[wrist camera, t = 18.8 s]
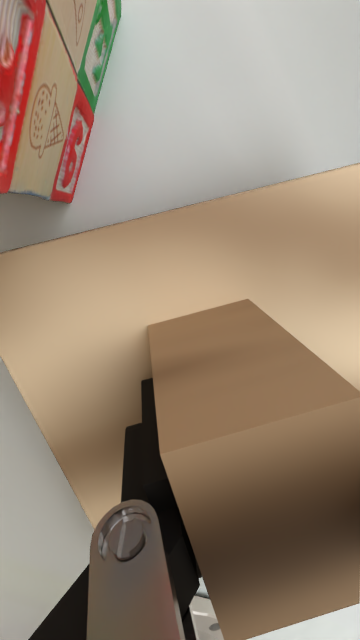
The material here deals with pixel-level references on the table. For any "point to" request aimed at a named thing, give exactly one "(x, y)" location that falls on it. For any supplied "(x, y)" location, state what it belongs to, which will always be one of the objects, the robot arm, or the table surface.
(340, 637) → the table surface
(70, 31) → the stack of blocks
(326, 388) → the lid
